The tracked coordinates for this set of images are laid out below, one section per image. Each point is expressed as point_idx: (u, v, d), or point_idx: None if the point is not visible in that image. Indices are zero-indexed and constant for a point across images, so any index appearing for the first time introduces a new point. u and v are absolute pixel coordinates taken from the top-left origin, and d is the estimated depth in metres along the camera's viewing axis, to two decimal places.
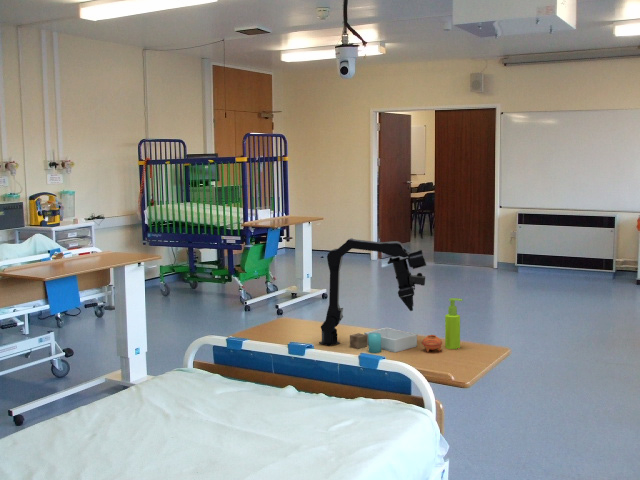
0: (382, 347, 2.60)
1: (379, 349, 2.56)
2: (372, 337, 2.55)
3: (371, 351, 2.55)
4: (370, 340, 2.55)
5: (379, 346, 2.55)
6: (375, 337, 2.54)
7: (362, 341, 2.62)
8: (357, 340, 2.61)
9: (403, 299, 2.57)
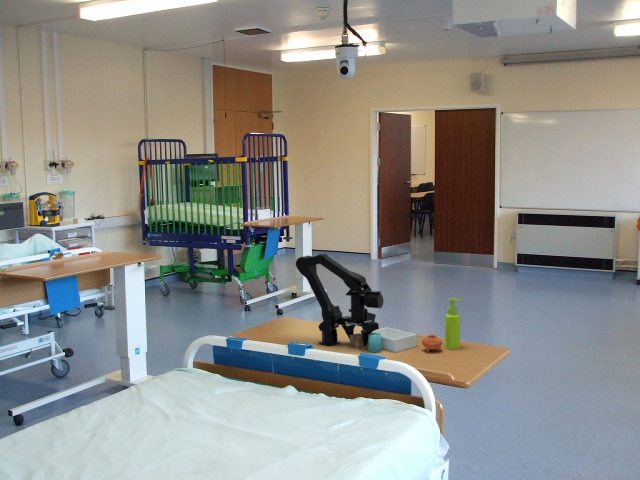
0: (382, 347, 2.60)
1: (379, 350, 2.56)
2: (372, 337, 2.55)
3: (371, 351, 2.55)
4: (370, 340, 2.55)
5: (379, 346, 2.55)
6: (375, 337, 2.54)
7: (362, 341, 2.62)
8: (357, 340, 2.61)
9: (364, 333, 2.58)
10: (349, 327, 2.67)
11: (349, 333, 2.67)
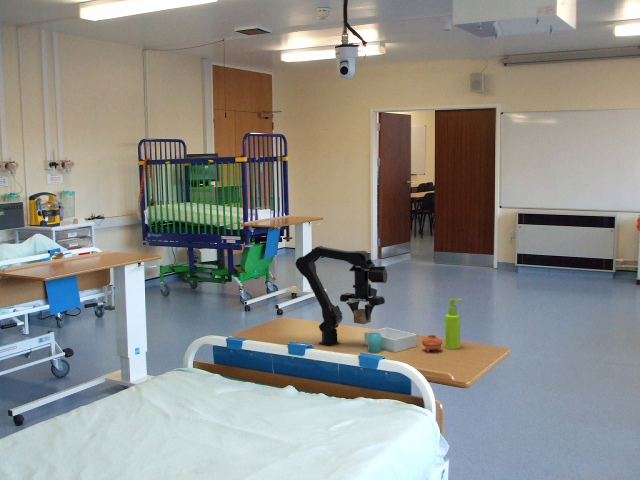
0: (382, 347, 2.60)
1: (379, 349, 2.56)
2: (372, 337, 2.55)
3: (371, 351, 2.55)
4: (370, 340, 2.55)
5: (379, 346, 2.55)
6: (375, 337, 2.54)
7: None
8: (362, 315, 2.61)
9: (368, 308, 2.59)
10: (354, 304, 2.65)
11: (354, 310, 2.65)
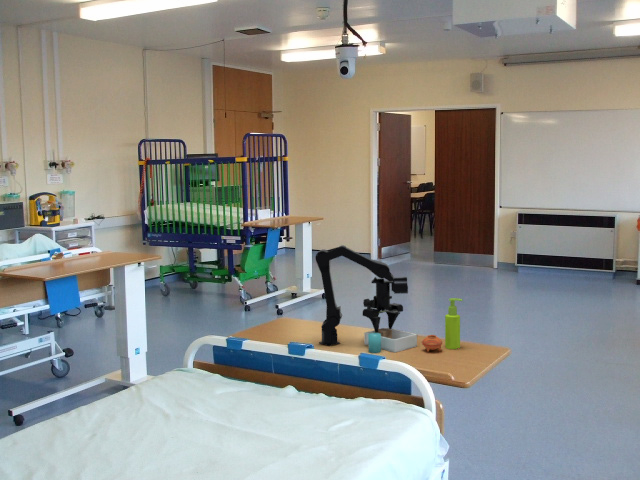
0: (382, 347, 2.60)
1: (379, 349, 2.56)
2: (372, 337, 2.55)
3: (371, 351, 2.55)
4: (370, 340, 2.55)
5: (379, 346, 2.55)
6: (375, 337, 2.54)
7: None
8: (391, 333, 2.68)
9: None
10: None
11: None
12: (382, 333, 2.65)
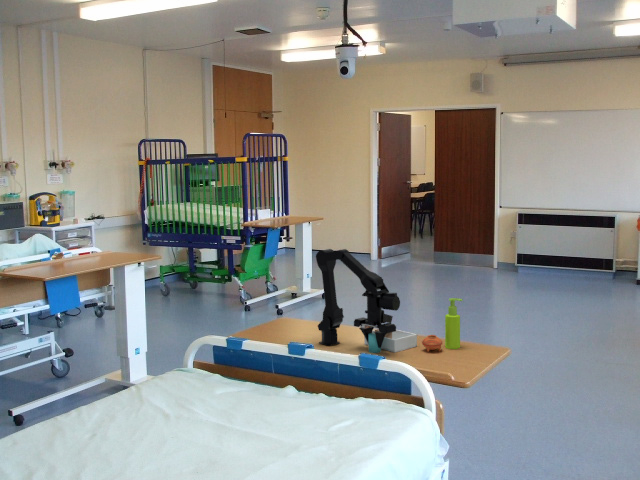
0: (382, 347, 2.60)
1: (379, 349, 2.56)
2: (372, 337, 2.55)
3: (371, 351, 2.55)
4: (370, 340, 2.55)
5: None
6: (375, 337, 2.54)
7: None
8: (391, 333, 2.68)
9: (379, 335, 2.52)
10: (367, 329, 2.59)
11: (367, 336, 2.58)
12: None
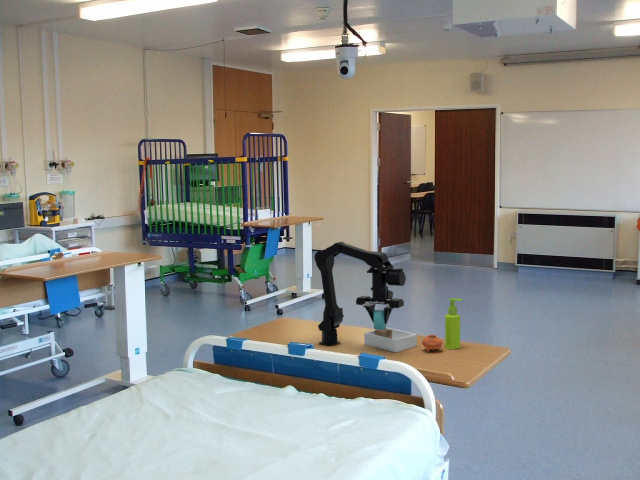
0: (382, 347, 2.60)
1: (385, 325, 2.56)
2: (379, 314, 2.54)
3: (378, 328, 2.55)
4: (377, 317, 2.55)
5: None
6: (382, 313, 2.55)
7: None
8: (391, 333, 2.68)
9: (388, 311, 2.53)
10: (371, 307, 2.58)
11: (372, 313, 2.58)
12: (382, 333, 2.65)
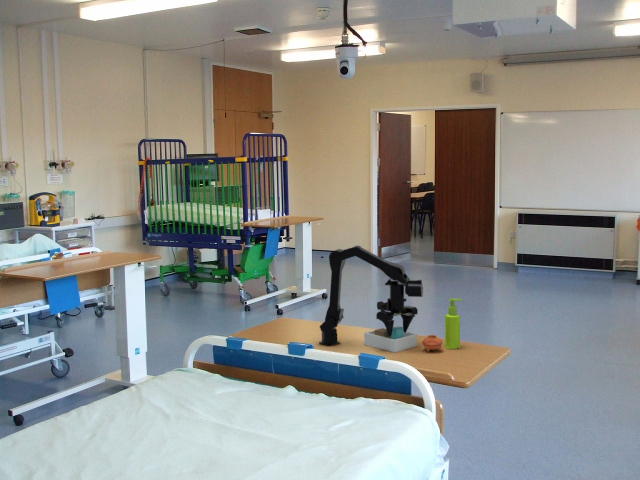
0: (382, 347, 2.60)
1: None
2: (402, 329, 2.61)
3: None
4: (401, 333, 2.61)
5: None
6: (402, 329, 2.62)
7: None
8: None
9: None
10: None
11: None
12: (382, 333, 2.65)
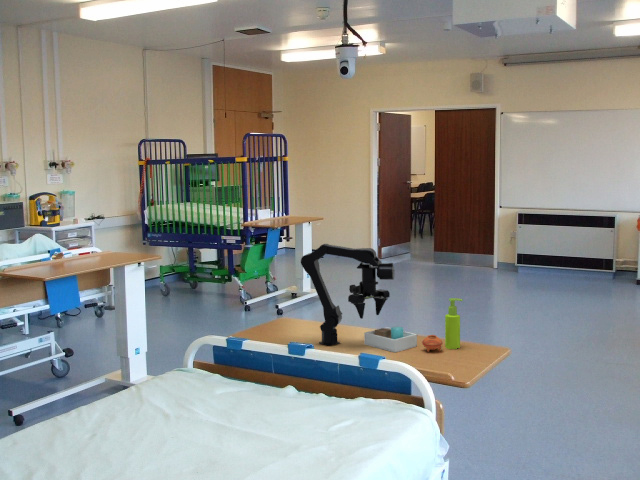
0: (382, 347, 2.60)
1: None
2: (402, 330, 2.61)
3: None
4: (401, 334, 2.60)
5: None
6: None
7: None
8: None
9: None
10: None
11: None
12: (382, 333, 2.65)
